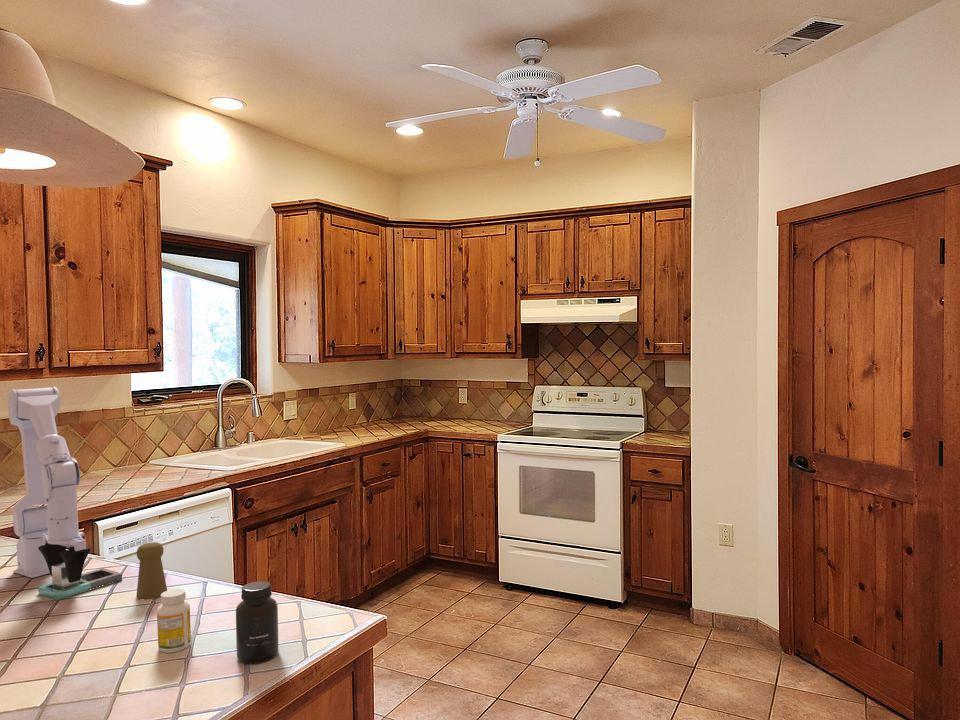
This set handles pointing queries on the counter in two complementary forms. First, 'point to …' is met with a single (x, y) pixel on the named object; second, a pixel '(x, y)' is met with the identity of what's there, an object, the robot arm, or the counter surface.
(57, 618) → the counter surface
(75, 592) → the grey teal tray
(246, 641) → the supplement bottle
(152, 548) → the cork
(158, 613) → the supplement bottle
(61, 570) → the beige rectangular block
